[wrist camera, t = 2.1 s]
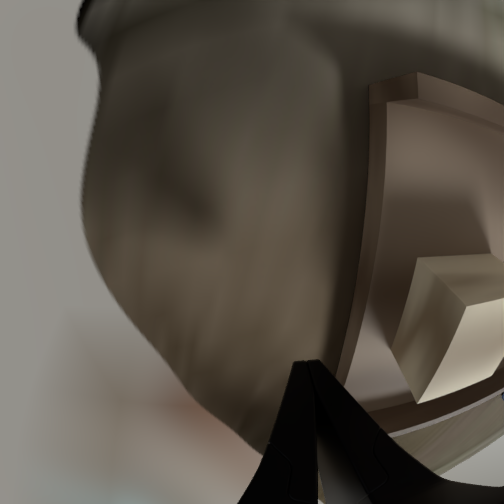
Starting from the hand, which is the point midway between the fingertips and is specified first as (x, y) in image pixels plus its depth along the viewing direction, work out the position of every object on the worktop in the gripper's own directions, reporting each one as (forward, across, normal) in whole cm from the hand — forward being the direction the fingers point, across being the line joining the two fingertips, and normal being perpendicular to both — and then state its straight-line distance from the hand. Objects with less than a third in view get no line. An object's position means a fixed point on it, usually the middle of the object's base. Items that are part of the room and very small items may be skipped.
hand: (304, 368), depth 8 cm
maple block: (+3, -8, 0) cm, 8 cm away
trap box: (+4, -18, 0) cm, 18 cm away
